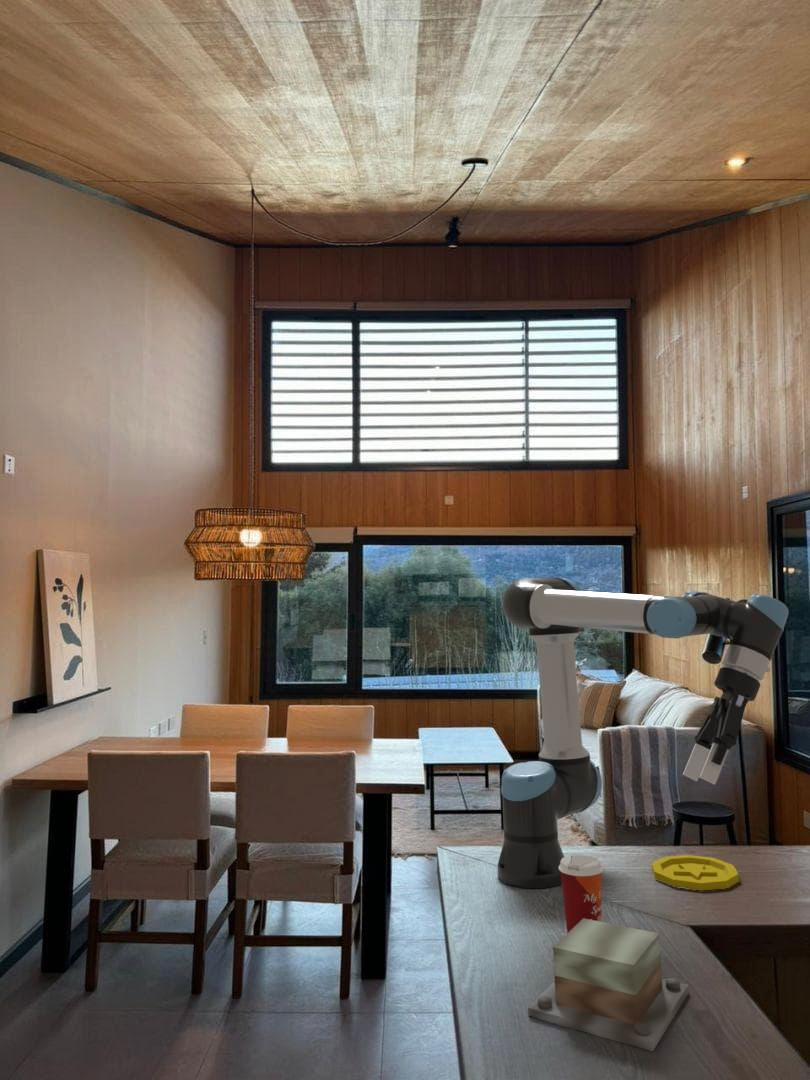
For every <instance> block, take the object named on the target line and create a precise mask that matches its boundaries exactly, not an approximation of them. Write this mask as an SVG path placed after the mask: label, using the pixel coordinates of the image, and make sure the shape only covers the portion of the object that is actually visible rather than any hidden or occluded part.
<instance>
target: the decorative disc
mask: <svg viewBox="0 0 810 1080" xmlns="http://www.w3.org/2000/svg"><path fill="white" fill-rule="evenodd" d="M652 871H653V872H652ZM651 872H652V874H654V875H653V877H655V878H654V880H655V879H657V880H660V881H662V882H665V883H667V884H670V885H672V886H675V887H685V888H690V889H696V890H712V889H724V890H726V889H725V888H728V889H730V888H731V887H733V886H735V885H736V884H735V883H737V882H738V883H740V878H739V876H740V875H739V872H738V871H737V869H736V867H735V866H734V865H733V864H731V863H730V862H729V863H728V862H726V861H723V860H721V859H718V858H716V857H709V856H702V855H690V854H686V855H685V854H683V855H682V854H681V855H672V856H671V855H669V856H663V857H661V858H659V859H657V860H655V861H653V862H652V863H651ZM657 880H656V881H657ZM662 882H661V883H662ZM738 883H737V884H738ZM734 884H735V885H734ZM732 885H733V886H732ZM730 886H731V887H730ZM729 887H730V888H729ZM712 891H713V890H712Z"/></svg>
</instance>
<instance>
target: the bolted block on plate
mask: <svg viewBox="0 0 810 1080" xmlns="http://www.w3.org/2000/svg"><path fill="white" fill-rule="evenodd" d="M660 942H661V941H660V933H658V932H654V931H649V930H646V929H645V930H643V929H639V928H636V927H635V928H634V927H630V926H625V925H620V924H614V923H611V922H610V923H608V922H604V921H601V922H600V921H595V920H590V919H585V918H583V919H582V920H581V921H580V922H579V923H578V924H577V925H576V926H575V927H574V928H573V929H572V930H571V931H569V932H568V933H567V932H566V934H565V935H564V936H563V937H562V938H561V939H560V940H559V941H558V942H557V943H555V944H554V946H552V957H553V974H554V975H553V976H554V980H553V982H552V983H550V984H549V985H548V987H546V989H545V990H544V991H543V992H542V993H541V994H540V995H539V996H538V997H536V999H535V1000H533V1002H532V1003H531V1004H530V1005H529V1006H528V1007H527V1010H528V1011H527V1013H528V1017H529V1016H532V1017H531V1018H533V1017H536V1018H538V1019H537V1020H540V1019H541V1020H540V1021H543V1020H545V1021H544V1022H547V1021H548V1022H547V1023H552V1024H554V1023H555V1025H558V1026H562V1027H565V1028H568V1027H569V1029H572V1030H576V1031H580V1032H582V1031H583V1033H586V1032H587V1033H586V1034H589V1033H590V1034H589V1035H594V1036H597V1037H600V1038H603V1039H607V1040H611V1041H614V1042H618V1043H622V1044H625V1045H628V1046H629V1045H630V1046H632V1047H634V1048H635V1047H636V1048H639V1049H643V1050H647V1051H650V1052H654V1050H655V1049H656V1047H657V1046H658V1043H659V1042H660V1041H661V1040H662V1037H663V1035H664V1034H665V1032H666V1031H667V1029H668V1027H669V1026H670V1024H671V1023H672V1021H673V1019H674V1018H675V1016H676V1015H677V1013H678V1011H679V1009H680V1008H681V1007H682V1005H683V1003H684V1001H685V1000H686V998H687V997H688V995H689V994H690V989H689V984H687V983H682V982H680V980H678V979H677V978H673V977H671V978H670V977H669V978H666V979H665V978H662V976H663V974H662V957H661V943H660ZM536 1018H535V1019H536Z"/></svg>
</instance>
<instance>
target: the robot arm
mask: <svg viewBox="0 0 810 1080" xmlns="http://www.w3.org/2000/svg"><path fill="white" fill-rule="evenodd" d="M501 603H502V604H501V605H502V611H503V614H504V616H505V618H506V619H507V620H508V621H509V623H510V624H512V625H513V626H515V627H517V628H520V629H526V630H528V634H529V635H528V636H529V638H530V639H532V641H534V643H535V644H536V651H537V653H536V654H537V665H538V666H537V667H538V668H537V669H538V678H539V679H538V680H539V692H540V694H539V695H540V704H541V717H542V727H543V728H542V729H543V742H544V747H543V748H542V750H540V751H539V753H538V760H536V761H535V760H531V761H526V762H518V763H515V764H512V765H510V766H509V767H507V768H506V769H504V771H503V773H502V776H501V786H500V793H501V804H502V806H501V807H502V819H503V820H502V821H503V823H502V824H503V843H502V847H501V851H500V854H499V858H498V863H497V878H498V877H499V878H500V879H501V880H502V881H503V882H502V881H501V880H500V879H499V878H498V879H499V880H500V881H501V882H502V883H504V882H505V883H504V884H506V883H507V885H509V884H510V886H512V885H513V886H512V887H516V886H517V887H518V888H523V887H524V888H525V889H545V888H552V887H556V886H559V885H562V880H561V871H560V870H559V865H560V862H561V859H562V858H564V857H565V855H564V852H563V850H562V847H561V844H560V842H559V841H560V840H559V833H558V831H559V830H558V829H559V828H558V820H561V819H563V818H565V817H568V816H571V815H575V814H578V813H582V812H584V811H586V810H587V809H589V808H591V807H592V806H594V804H595V803H596V802H597V801H598V799H600V796H601V793H602V789H603V781H602V776H601V772H600V770H599V768H598V767H597V766H596V764H595V763H594V762H593V761H592V760H591V755H590V751H589V750H588V749H586V748H585V747H584V745H583V740H582V737H583V736H582V729H581V726H582V725H581V717H580V705H579V704H580V702H579V701H580V700H579V692H578V689H579V688H578V679H577V667H576V665H577V664H576V654H575V639H576V638H577V637H578V636H579V635H580V628H583V629H596V630H606V631H607V630H608V631H617V632H627V633H636V634H637V633H638V634H647V635H648V634H649V635H656V636H658V637H660V638H665V639H681V638H684V637H691V636H700V635H707V634H709V635H714V636H716V637H721V638H725V639H727V640H731V641H730V644H729V645H728V647H727V650H726V653H725V655H724V657H723V660H722V663H721V664H722V667H721V668H719V670H718V672H717V675H716V677H715V679H714V686H715V687H716V688H717V689H719V690H721V692H722V694H721V695H720V697H719V696H715V698H714V699H713V703H712V705H711V706H710V707H711V708H710V710H709V711H708V713H707V714H706V717H705V718H704V720H703V722H702V724H701V726H700V728H699V730H698V732H697V733H696V735H695V737H694V741H695V744H694V746H693V748H692V752H691V753H690V756H689V757H688V761H687V763H686V765H685V768H684V770H683V773H682V776H685V777H687V778H689V779H691V780H692V781H695V782H698V781H699V778H700V779H701V780H704V781H706V782H707V783H710V784H712V785H716V784H717V781H718V778H719V776H720V774H721V771H722V769H723V767H724V763H725V761H726V759H727V756H728V754H729V752H730V750H731V749H732V747H735V745H737V741H738V737H739V733H740V729H741V725H742V721H743V717H744V713H745V710H746V707H747V704H748V703H749V702H754V701H755V700H756V698H757V696H758V693H759V690H760V688H761V685H762V684H761V683H760V681H763V679H764V677H765V675H766V673H769V672H770V671H771V668H770V667H768V666H769V664H770V662H771V660H772V657H773V655H774V653H775V650H776V647H777V646H778V643H779V641H780V638H781V636H782V635H783V632H784V630H785V629H784V628H785V627H786V626H785V625H786V622H787V619H788V617H789V614H790V613H789V611H790V610H789V609H788V606H786V604H785V603H784V602H782V601H781V600H778V599H776V598H774V597H772V596H769V595H765V594H758V593H757V594H756V593H755V594H752V595H750V596H749V597H748V600H746V602H741V601H740V602H739V601H735V600H732V599H728V598H724V597H720V596H717V595H713V594H709V592H704V591H698V590H697V591H696V590H688V591H686V592H685V594H683V595H682V596H669V595H666V596H665V595H650V594H636V593H635V594H633V593H616V592H615V593H614V592H599V591H586V590H585V591H584V590H582V588H581V587H580V586H579V585H578V584H577V583H575V582H574V581H573V580H571V579H569V578H564V577H558V576H557V577H554V576H551V577H528V578H527V577H525V578H524V577H523V578H521V579H517V580H515V581H513V582H512V583H511V584H509V585H508V587H507V589H506V590H505V592H504V593H503V596H502V601H501Z"/></svg>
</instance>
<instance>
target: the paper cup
mask: <svg viewBox="0 0 810 1080" xmlns="http://www.w3.org/2000/svg"><path fill="white" fill-rule="evenodd" d="M559 870H560V871H561V880H562V884H561V889H562V898H563V906H564V916H565V925H566V926H565V927H566V934H567V933H568V932H569V931H571V930H572V929H573V928H574V927H575V926H576V925H577V924H578V923H579V922H580V921H581V920H582V919H583V918H585V919H590V920H595V921H600V922H602V872H603V871H604V868H603V866H602V865H601V861H600V860H599V858H597V857H594V856H592V855H591V856H590V855H583V854H573V855H567V856H564V858H562V859H561V862H560V865H559Z"/></svg>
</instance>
